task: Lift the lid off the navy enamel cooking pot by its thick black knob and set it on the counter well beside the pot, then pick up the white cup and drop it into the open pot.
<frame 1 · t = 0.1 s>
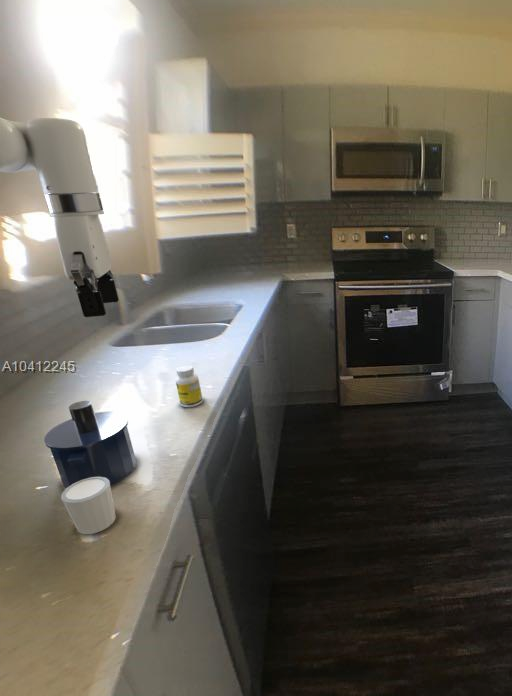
hand: (102, 308, 80), 33 cm above the worktop, tool pointing down, fingers open, 9 cm apart
pot lid: (88, 431, 87), point 9 cm above the worktop, touching pot
white cup: (97, 523, 77), on the worktop
pot: (100, 472, 91), on the worktop
supplement bottle: (192, 403, 119), on the worktop
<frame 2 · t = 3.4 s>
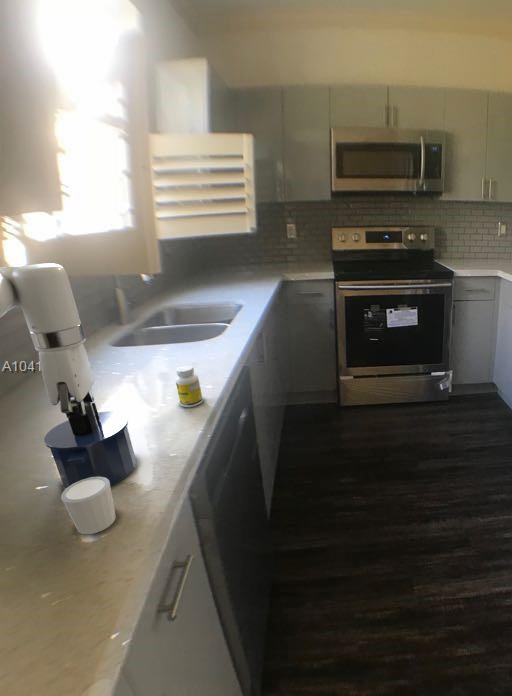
hand: (87, 427, 87), 10 cm above the worktop, tool pointing down, fingers closed on pot lid, 3 cm apart
pot lid: (88, 431, 87), point 10 cm above the worktop, touching gripper, pot
everything else where it was.
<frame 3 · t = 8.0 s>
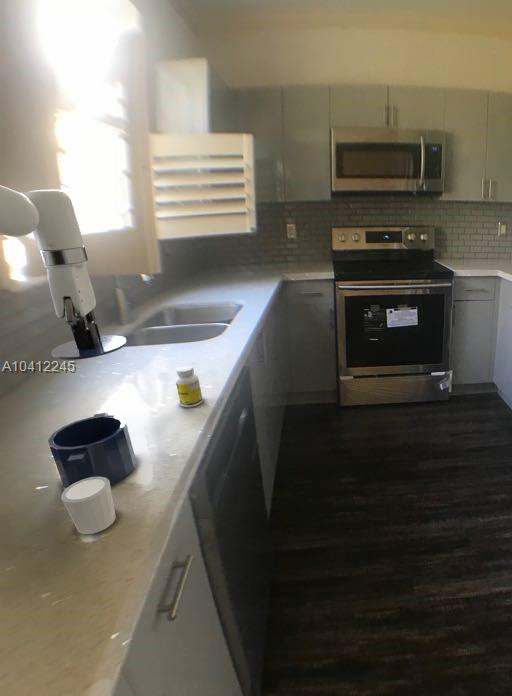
hand: (89, 344, 97), 22 cm above the worktop, tool pointing down, fingers closed on pot lid, 3 cm apart
pot lid: (90, 348, 97), point 21 cm above the worktop, touching gripper
everything else where it was.
when the fingers open (1 cm above the worktop, at t = 12.8 s): pot lid stays where it is, point 1 cm above the worktop.
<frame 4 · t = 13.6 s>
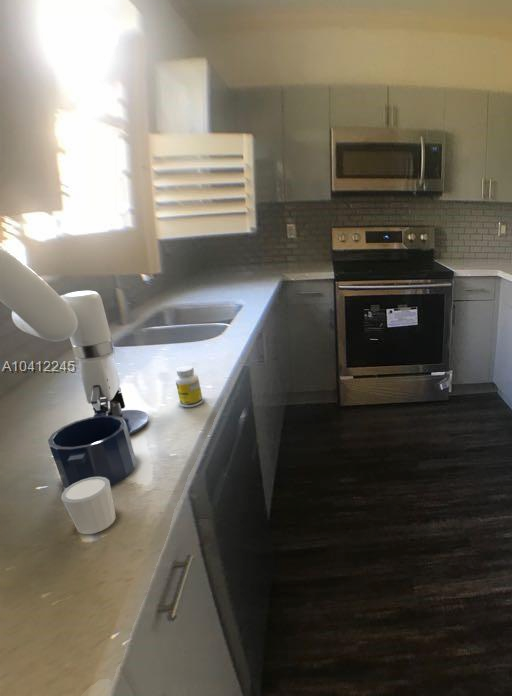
hand: (113, 418, 106), 3 cm above the worktop, tool pointing down, fingers open, 9 cm apart
pot lid: (116, 425, 107), point 1 cm above the worktop
everything else where it was.
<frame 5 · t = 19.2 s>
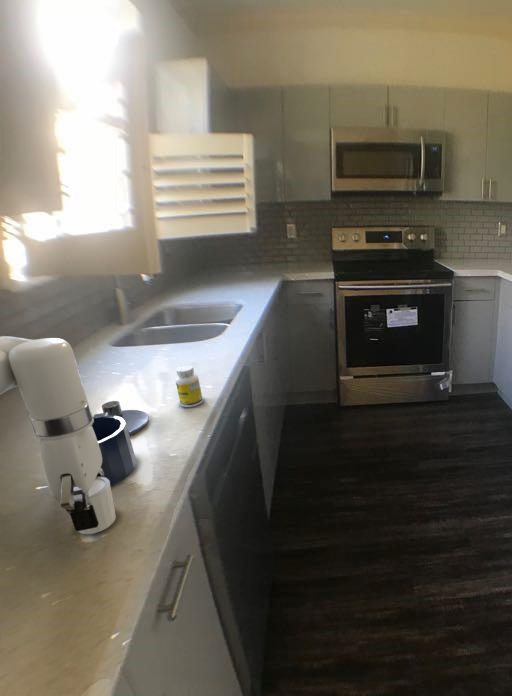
hand: (93, 512, 77), 2 cm above the worktop, tool pointing down, fingers closed on white cup, 6 cm apart
white cup: (97, 523, 77), on the worktop, touching gripper
everything else where it was.
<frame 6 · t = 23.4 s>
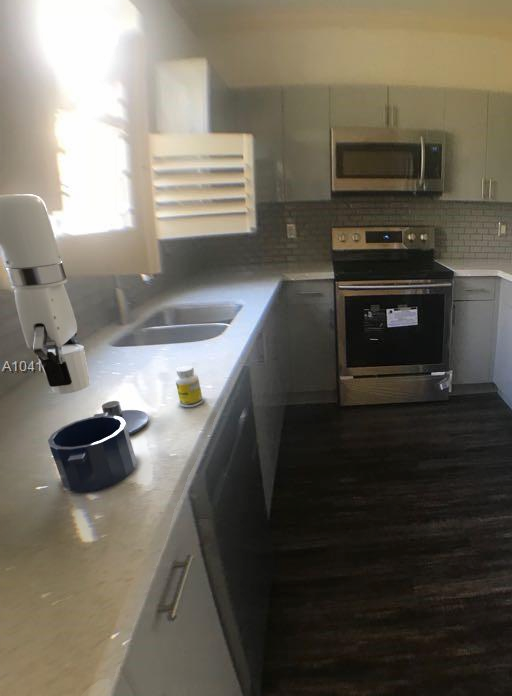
hand: (68, 375, 81), 22 cm above the worktop, tool pointing down, fingers closed on white cup, 6 cm apart
white cup: (72, 388, 82), point 19 cm above the worktop, touching gripper
everything else where it was.
when the fingers open (7 cm above the worktop, at t = 27.7 s): white cup stays where it is, resting on pot.
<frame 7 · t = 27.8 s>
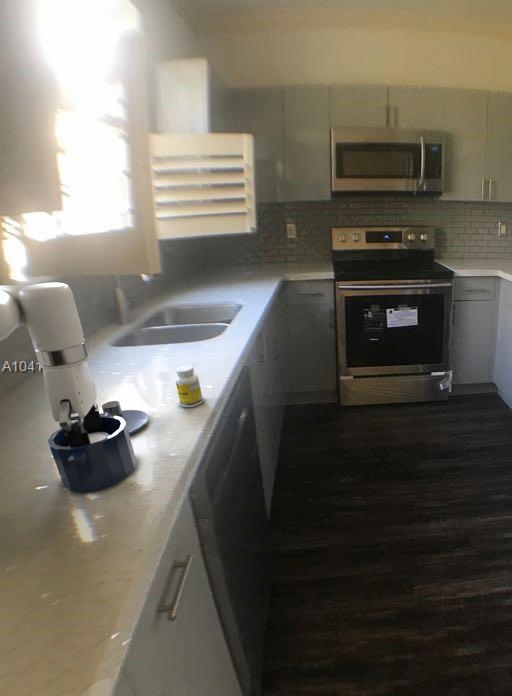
hand: (88, 439, 88), 8 cm above the worktop, tool pointing down, fingers open, 7 cm apart
white cup: (99, 472, 90), resting on pot
everything else where it was.
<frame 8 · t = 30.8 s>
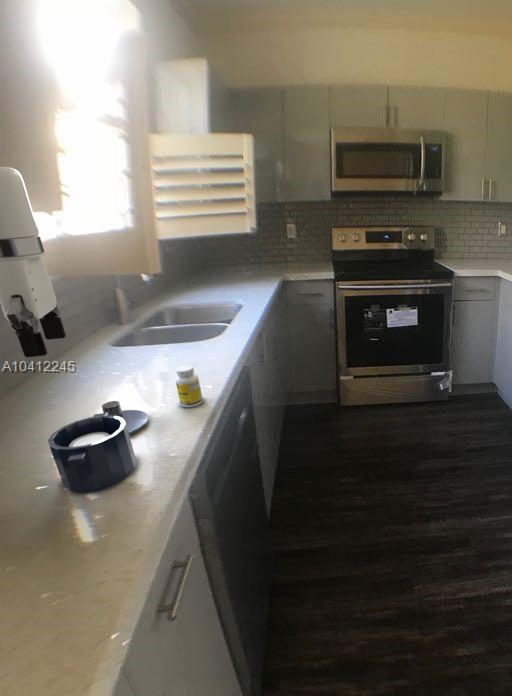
hand: (46, 346, 82), 26 cm above the worktop, tool pointing down, fingers open, 9 cm apart
nothing on the worktop moved.
at the end: pot lid inside the target area (0.1 cm from its centre), point 0.6 cm above the worktop; pot lid tilted 0°; white cup inside the target area in the pot (0.2 cm from its centre), point 0.3 cm above the pot's base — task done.
